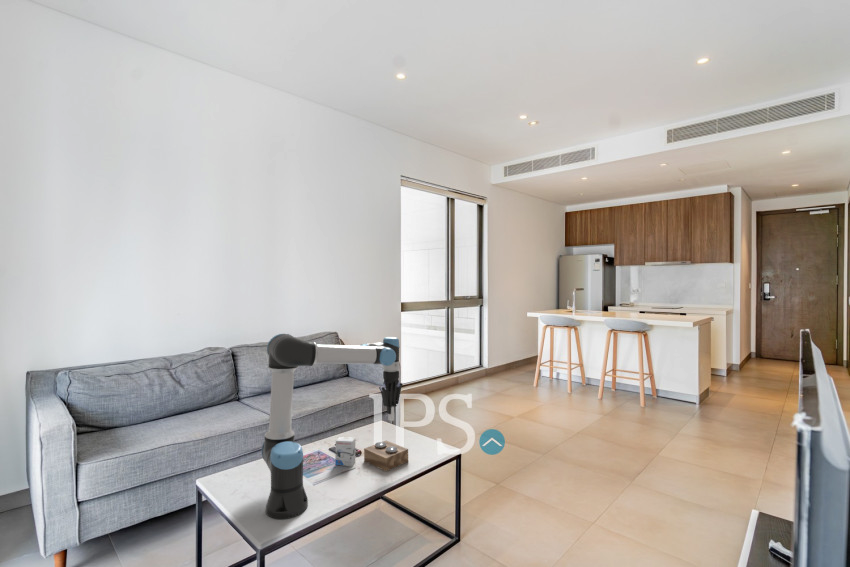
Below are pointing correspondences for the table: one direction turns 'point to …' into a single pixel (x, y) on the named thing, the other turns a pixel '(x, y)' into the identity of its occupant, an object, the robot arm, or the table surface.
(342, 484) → the table surface
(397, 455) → the socket block
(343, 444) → the ink box
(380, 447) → the peg far
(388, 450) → the peg near
